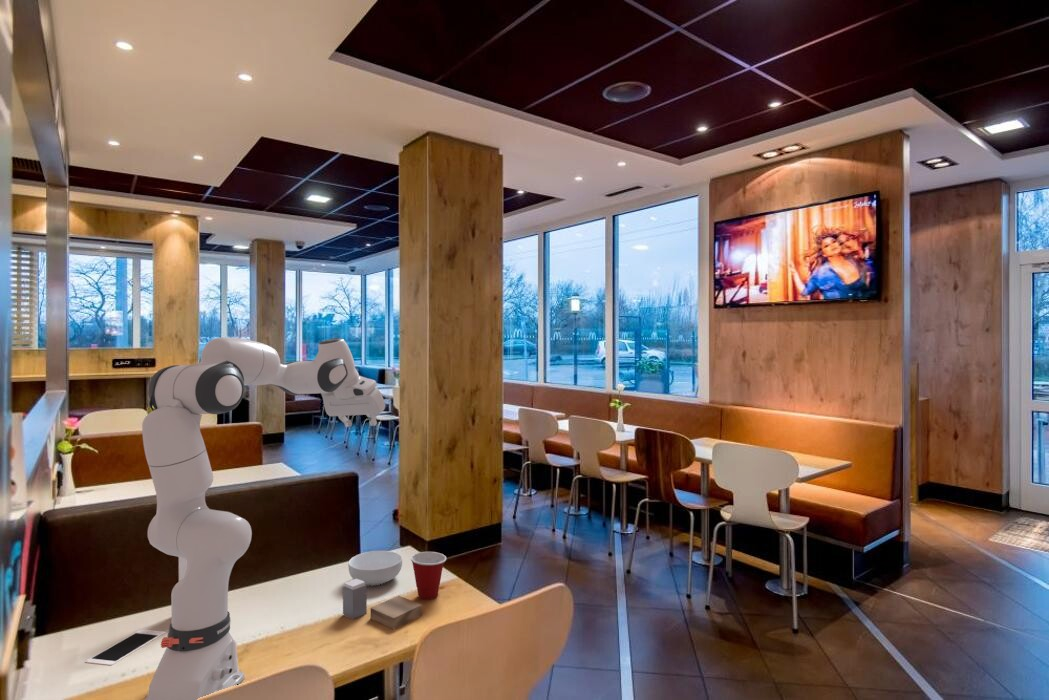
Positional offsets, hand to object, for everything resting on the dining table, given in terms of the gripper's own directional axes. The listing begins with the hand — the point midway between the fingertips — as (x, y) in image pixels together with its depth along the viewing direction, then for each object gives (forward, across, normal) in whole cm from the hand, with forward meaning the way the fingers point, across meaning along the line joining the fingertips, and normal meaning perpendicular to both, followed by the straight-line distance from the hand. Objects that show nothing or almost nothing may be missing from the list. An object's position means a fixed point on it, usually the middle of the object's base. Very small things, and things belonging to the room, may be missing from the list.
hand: (361, 425), depth 179 cm
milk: (+31, -38, -49) cm, 69 cm away
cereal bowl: (+49, -2, -17) cm, 51 cm away
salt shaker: (+40, +6, -37) cm, 55 cm away
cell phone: (+24, -38, -66) cm, 80 cm away
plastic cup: (+48, +20, -21) cm, 56 cm away
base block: (+42, +18, -35) cm, 57 cm away
